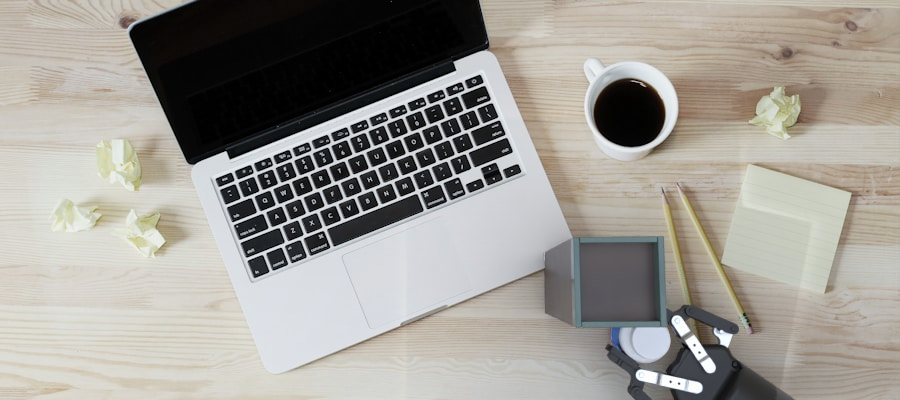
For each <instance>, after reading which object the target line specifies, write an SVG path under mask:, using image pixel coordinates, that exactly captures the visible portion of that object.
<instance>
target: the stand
mask: <svg viewBox="0 0 900 400" xmlns="http://www.w3.org/2000/svg"><path fill="white" fill-rule="evenodd" d="M544 252H545V268H544V267H543V269H544V270H543V277H544V280H543V281H544V285H543V286H544V314H546V315H549V316H550V317H553V318H555V319H557V320H559V321H561V322H563V323H565V324H568V325H569V326H571V327H574V326H573V322H572V280H571V238H569V239H568V240H566V241H563V242H561V243H560V244H558V245H556V246H553V247H552V248H550V249H548V250H546V251H544ZM580 276H581V316H582V320H655V302H654V275H653V248H652V244H580Z"/></svg>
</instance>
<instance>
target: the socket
mask: <svg viewBox="0 0 900 400" xmlns="http://www.w3.org/2000/svg"><path fill="white" fill-rule="evenodd" d="M570 239H571V280H572V322H573V326H572V327H573V328H575V329H578V328H579V329H580V328H582V329H584V328H585V329H588V328H590V329H592V328H593V329H597V328H599V329H601V328H608V329H610V328H637V327H667V328H668V323H667V308H668V307H667V285H666V283H667V282H666V260H665V237H664V235H659V236H658V235H657V236H656V235H655V236H654V235H651V236H647V235H646V236H645V235H644V236H642V235H641V236H639V235H638V236H636V235H635V236H633V235H632V236H573V237H570ZM580 244H652V248H653V275H654V302H655V320H582V316H581V276H580Z"/></svg>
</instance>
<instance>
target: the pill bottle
mask: <svg viewBox="0 0 900 400" xmlns="http://www.w3.org/2000/svg"><path fill="white" fill-rule="evenodd" d="M608 335H609V341H610V344H611V345H612V346H614V347H615V348H617V349H618V350H619V351H621V352H622V353H624V354H625V355H627V356H628V357H630V358H631V359H632V360H634V361H635V362H637V363H641V364H651V363H654V362H656V361H657V362H658V360H660V359H662V358H663V357H664V356H665V355H666V354H667V353H668V351H669V350H670V347H671V342H672V341H671V334H670V330H669V327H668V326H667V327H637V328H609V332H608Z"/></svg>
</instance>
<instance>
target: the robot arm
mask: <svg viewBox="0 0 900 400" xmlns="http://www.w3.org/2000/svg"><path fill="white" fill-rule="evenodd" d="M689 319H692V320H694V321H696V322H699V323H701V324H703V325H705V326H708V327H710V328H711V331H710V332H711V334H712V336H714V337H715V338H716V339H717V343H700V341H699V339H698V338H697V336H696V335H695V334H694V333H693V331H691V329H690V327H689V326H688V325H687V324H686V322H687V321H688V320H689ZM667 326H669V328H670V329H671V331H672V333H673V335H674V336H675V338H676V340H677V341H678V343H679V344H680V348H679V350H678V351H677V353H676V356H675V359H674V361H672V362H671V363H670V364H669V365H668V366H667V368H666V369H665V372H664V371H659V370H654V369H650V368H649V369H648V368H643V367H641V366H640V365H641V364H639V362H636V361H634V360H632V359H631V358H630V357H628V356H627V355H625V354H624V353H622V352H621V351H619V350H618V349H617V348H615V347H614V346H613V345H612V343H607V344H606V346H605V347H604V349H605V350H606V351H607V352H608V353H607V354H606V356H607V358H608V360H609V361H611V362H612V363H613V364H615V365H617V366H618V367H620V368H621V369H623V370H624V371H625V372H627V373H628V374H629V376H630V380H629V384H628V386H627V389H626V391H627V393H628V394H629V395H630V396H631V397H632V398H633V399H634V400H653V399H652V398H651V397H650V396H649V395H648V394H647V393H646V392H645V391H644V387H645V383H648V384H654V385H658V386H660V387H661V386H662V387H666V388H669V390H670V394H671V396H672V399H673V400H796V399H795V398H794V397H793V396H791V395H790V394H789V393H787V392H785V391H784V390H783V389H781V388H779V387H778V386H777V385H775V384H773V383H772V382H771V381H769V380H768V379H766V378H765V377H763V376H762V375H760V374H759V373H757V372H756V371H754V370H753V369H751V368H750V367H748V365H745V364H744V363H743V362H741V361H740V360H738V359H737V358H736V357H735V356H734V355H733V354H732V352H731V349H730V348H729V346H730V344H731V341H732V339H733V336H734V335H737V334H738V333H739V332H740V326H739V324H737V323H735V322H732V321H730V320H728V319H726V318H724V317H722V316H718V315H716V314H714V313H712V312H710V311H707V310H706V309H702V308H701V307H698V306H696V305H693V304H683V305H680V307H679V308H678V309H677V310H674V311H672V310H671V309H669V308H668V307H667Z"/></svg>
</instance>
